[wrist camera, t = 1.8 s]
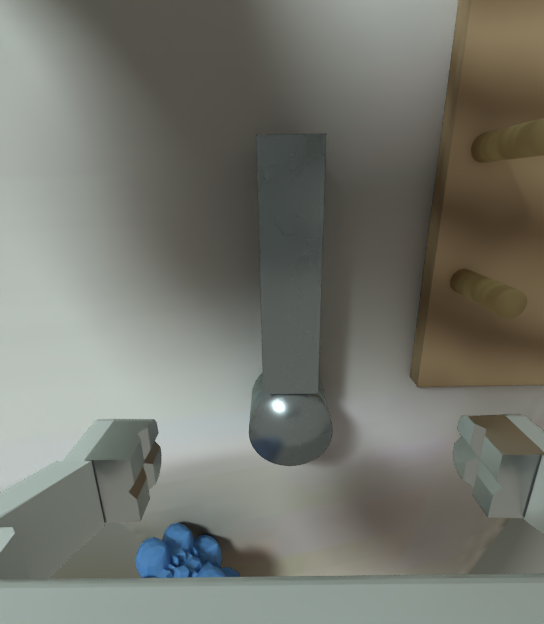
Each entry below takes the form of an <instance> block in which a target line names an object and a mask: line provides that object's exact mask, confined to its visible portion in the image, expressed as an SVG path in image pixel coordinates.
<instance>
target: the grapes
mask: <svg viewBox="0 0 544 624" xmlns="http://www.w3.org/2000/svg"><path fill="white" fill-rule="evenodd" d="M221 563H222V553H221V549H220V546H219V544H218V542H217V541H216V540H215V539H214V538H213V537H211V536H208V535H201V536H198V537H197V538H196V539H195V541H194V537H193V535H192V532H191V530H190V529H189V528H188V527H187V526H185V525H183V524H180V523H175V524H171V525H170V526H169V527H168V528H167V529H166V530H165V533H164V536H163V540H160V539H158V538H155V537H153V538H148V539H146V540H145V541H144V542H143V543H142V544H141V545H140V546H139V549H138V552H137V555H136V567H137V571H138V573H139V575H140V576H141V578H187V577H241V576H240V574H239V573H238V572H237V571H236V570H234V569H231V568H229V567H224V568H220V567H221Z"/></svg>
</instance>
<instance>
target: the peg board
mask: <svg viewBox="0 0 544 624" xmlns="http://www.w3.org/2000/svg"><path fill="white" fill-rule="evenodd" d="M410 377H411V379H412V380H413V381H414V383H415V384H416V386H417V387H440V386H498V385H544V0H459V2H458V9H457V17H456V25H455V33H454V40H453V48H452V56H451V63H450V71H449V79H448V87H447V94H446V102H445V110H444V117H443V125H442V133H441V140H440V148H439V156H438V164H437V171H436V179H435V187H434V194H433V202H432V210H431V218H430V225H429V233H428V241H427V248H426V256H425V264H424V271H423V279H422V287H421V295H420V302H419V310H418V318H417V325H416V333H415V341H414V349H413V356H412V364H411V372H410Z"/></svg>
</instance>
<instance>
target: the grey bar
mask: <svg viewBox="0 0 544 624" xmlns="http://www.w3.org/2000/svg"><path fill="white" fill-rule="evenodd" d="M256 149H257V185H258V220H259V255H260V290H261V325H262V360H263V373H262V374H261V375H260V376H259V377H258V379H257V380H256V382H255V384H254V387H253V391H252V401H251V412H250V424H249V438H250V441H251V444H252V446H253V448H254V449H255V451H256V452H257V453H258V454H259V455H260V456H261V457H263V458H264V459H266V460H268V461H270V462H272V463H275V464H278V465H284V466H296V465H301V464H305V463H308V462H310V461H312V460H314V459H316V458H317V457H319V456H320V455H321V454H322V453H323V452H324V451H325V450H326V448H327V447H328V445H329V443H330V441H331V438H332V423H331V419H330V415H329V412H328V408H327V404H326V400H325V396H324V392H323V389H322V385H321V383H320V381H319V379H318V377H319V345H320V313H321V281H322V249H323V217H324V185H325V153H326V134H282V135H256Z"/></svg>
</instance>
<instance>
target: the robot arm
mask: <svg viewBox="0 0 544 624" xmlns="http://www.w3.org/2000/svg"><path fill="white" fill-rule="evenodd" d="M457 430H458V432H459V433H460V435H461V437H460V438H459V439H458V440H457V441H456V442H455V443H454V450H453V458H454V464H455V467H456V469H457V472H458V474H459V475H460V477H461V478H462V480H463V481H464V482H466V483H467V484H469V485H470V486H472V487H473V488H474V489H473V496H474V498H475V499H476V501H477V502H478V504H479V505H480V507H481V508H482V510H483V511H484V513H485V514H486V516H487V517H488V518H525V519H524V520H525V521H526V522H527V523H529V524H530V525H531V526H533V527H534V528H535V529H537V530H538V531H539V532H541V533H542V534H543V535H544V432H543V431H542V430H541V429H540V428H539V427H538V426H537V425H535V424H534V423H533V422H532V421H531V420H530V419H528V418H527V417H526V416H524V415H521V414H502V415H483V416H461V418H460V420H459V421H458V426H457ZM157 435H158V428H157V422H156V421H155V420H154V419H98V420H96V421H94V422H93V423H92V425H91V426H90V427H89V428H88V430H87V431H86V432H85V434H84V435H83V436H82V437H81V439H80V440H79V441H78V442H77V444H76V445H75V446H74V447H73V449H72V450H71V451H70V452H69V454H68V455H67V456H66V458H65V459H64V460H63V461H56V462H54V463H52V464H51V465H49V466H47V467H45V468H43V469H42V470H40V471H38V472H36V473H34V474H33V475H31V476H29V477H27V478H25V479H24V480H22V481H20V482H18V483H16V484H15V485H13V486H11V487H9V488H7V489H6V490H4V491H2V492H0V624H544V574H461V575H362V576H276V577H187V578H104V579H103V578H101V579H100V578H97V579H48V578H49V577H50V576H51V575H53V574H54V573H55V572H56V571H57V570H58V569H59V568H60V567H61V566H62V565H63V564H64V563H65V562H66V561H67V560H69V559H70V557H72V556H73V555H74V554H75V553H76V552H77V551H78V550H79V549H80V548H81V547H82V546H83V545H84V544H85V543H86V542H88V541H89V540H90V539H91V538H92V537H93V536H94V535H95V534H96V533H97V532H98V531H99V530H100V529H101V528H102V527H103V526H105V523H118V522H141V519H142V517H143V515H144V512H145V510H146V507H147V505H148V502H149V500H150V495H149V489H150V488H152V487H153V486H154V485H155V484H156V482H157V480H158V477H159V473H160V468H161V448H160V446H159V445H158V444H157V443H156V442H155V439H156V437H157Z"/></svg>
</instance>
